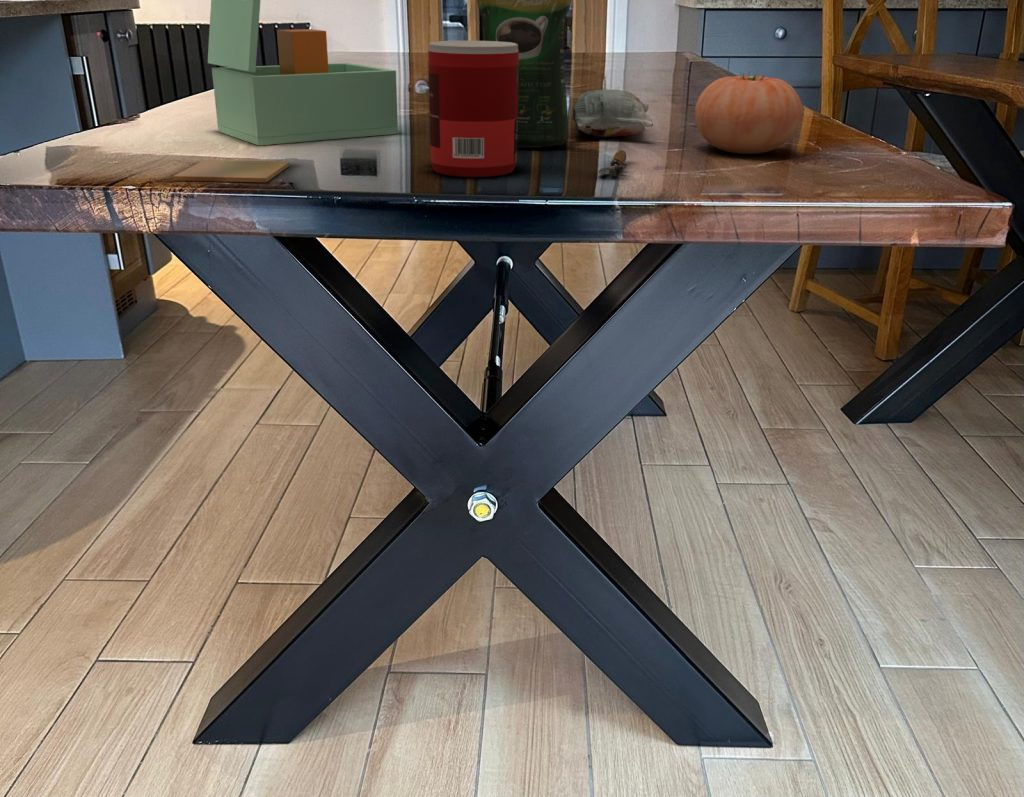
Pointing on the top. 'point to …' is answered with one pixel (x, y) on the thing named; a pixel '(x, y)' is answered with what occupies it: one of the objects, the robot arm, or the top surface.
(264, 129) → the box
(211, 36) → the lunchbox lid
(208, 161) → the coaster
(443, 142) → the canned food
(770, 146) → the orange pumpkin
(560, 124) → the green coffee bag
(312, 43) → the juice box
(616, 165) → the can opener
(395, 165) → the top surface
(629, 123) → the packaged food
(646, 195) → the top surface
